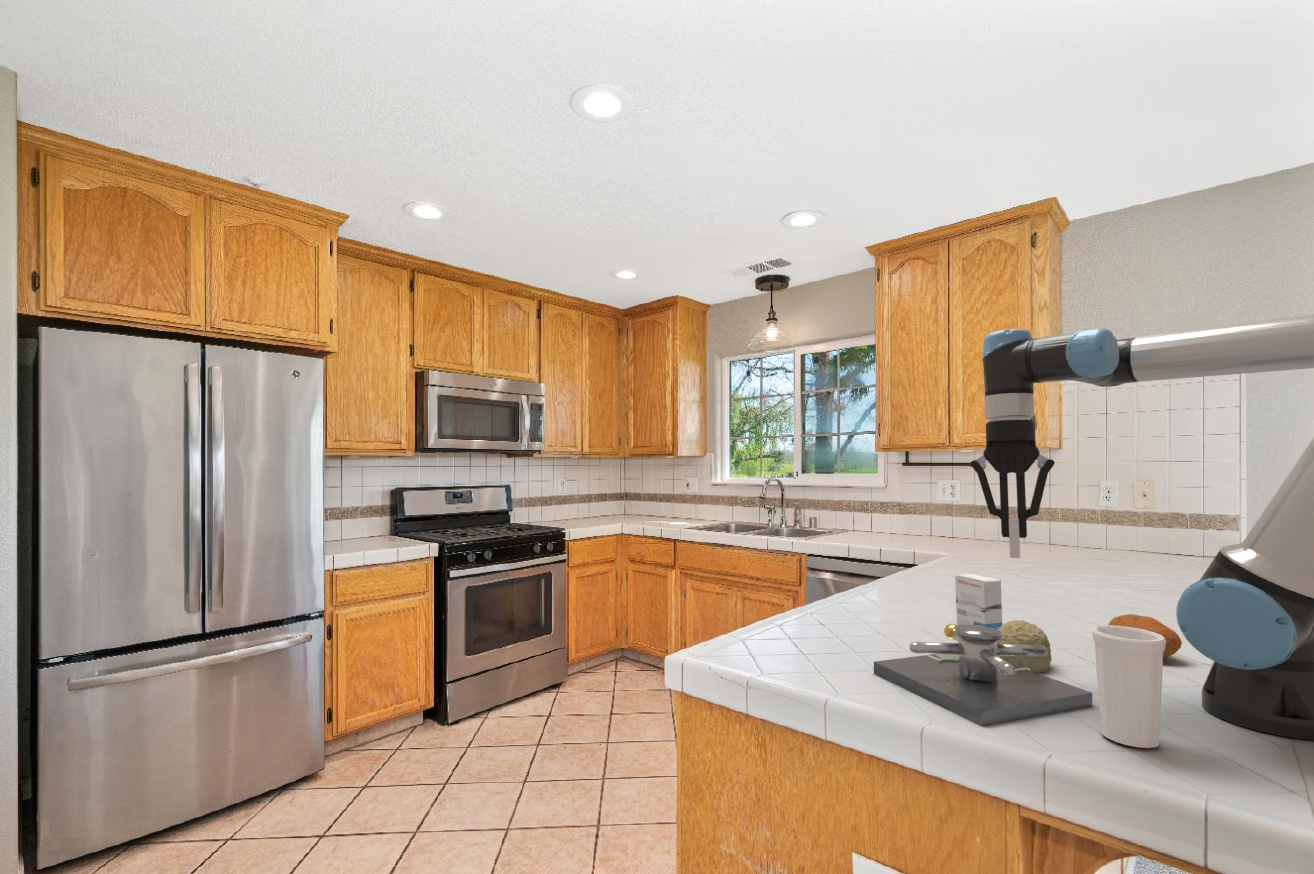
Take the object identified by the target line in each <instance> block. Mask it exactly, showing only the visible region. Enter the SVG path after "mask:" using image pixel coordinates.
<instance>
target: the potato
mask: <svg viewBox="0 0 1314 874" xmlns="http://www.w3.org/2000/svg"><path fill="white" fill-rule="evenodd" d="M1108 625H1113V626H1125V627H1132V628H1138V629H1143V630H1147V631H1151V632H1155V633H1157V634H1160V635H1162V636H1163V637H1164V638H1165V640H1166V646H1165V650H1164V652H1163V659H1166V658H1168V657H1171V656H1173V655H1174V654H1176V653H1177V652H1179V650H1180V649H1181V648H1182V643H1183V642H1182V639H1181V638H1180V637H1181V636H1179V634H1178V633H1177V631H1175V630H1174V629H1172V628H1170V627H1168V626H1167V625H1165V624H1163V623H1162V622H1161V621H1159V620H1158V619H1156V618H1154V617H1151V616H1145V615H1139V614H1133V613H1132V614H1131V613H1130V614H1129V613H1128V614H1122V615H1119V616H1115V617H1113V618H1111V620H1110V621H1109V622H1108Z"/></svg>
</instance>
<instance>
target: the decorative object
mask: <svg viewBox="0 0 1314 874" xmlns="http://www.w3.org/2000/svg"><path fill="white" fill-rule="evenodd" d="M999 631H1001V639H1000V640H997V644H1020V645H1043V646H1045V647H1046V648H1047V650H1048V653H1047V655H1046V656H1044V657H1035V656H999V657H1001V658H1002V659H1004V660H1005V661H1007V662H1008V663H1010V664H1013V665H1016V666H1019V667H1021V668H1024V667H1026V668H1029V669H1030V671H1033V672H1035V673H1038V674H1040V673H1045V672H1047V671H1049V669H1050V667H1051V666H1050V665H1051V662H1052V654H1051V653H1052V649H1051V644H1050V641H1049V639H1048V636H1047V635H1046V633H1045V632H1044V631H1043V630H1042V628H1040V627H1038V626H1037V624H1035V623H1030V622H1028V621H1025V620H1021V619H1020V620H1016V619H1015V620H1012V621H1007V622H1006V623H1002V626H1001V627H1000V628H999Z"/></svg>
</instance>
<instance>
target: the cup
mask: <svg viewBox="0 0 1314 874" xmlns="http://www.w3.org/2000/svg"><path fill="white" fill-rule="evenodd" d="M1091 634H1092V639H1093V642H1094V653H1095V665H1096V666H1095V667H1096V678H1097V679H1096V681H1097V695H1098V707H1099V708H1098V710H1099V720H1100V721H1099V722H1100V732H1101V734H1102V735H1103V736H1104V737H1106V738H1107V739H1109V740H1111V741H1113V742H1116V743H1119V744H1122V745H1125V746H1130V747H1135V748H1143V749H1150V748H1157V747H1158V746H1159V745H1160V733H1161V732H1160V731H1161V708H1162V686H1163V684H1162V683H1163V665H1164V664H1163V663H1164V658H1163V652H1164V650H1165V646H1166V640H1165V638H1164V637H1163V636H1162V635H1160V634H1157V633H1155V632H1151V631H1147V630H1143V629H1138V628H1132V627H1125V626H1113V625H1109V624H1107V625H1106V624H1105V625H1104V624H1103V625H1096V626H1093V627H1092V628H1091Z"/></svg>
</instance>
